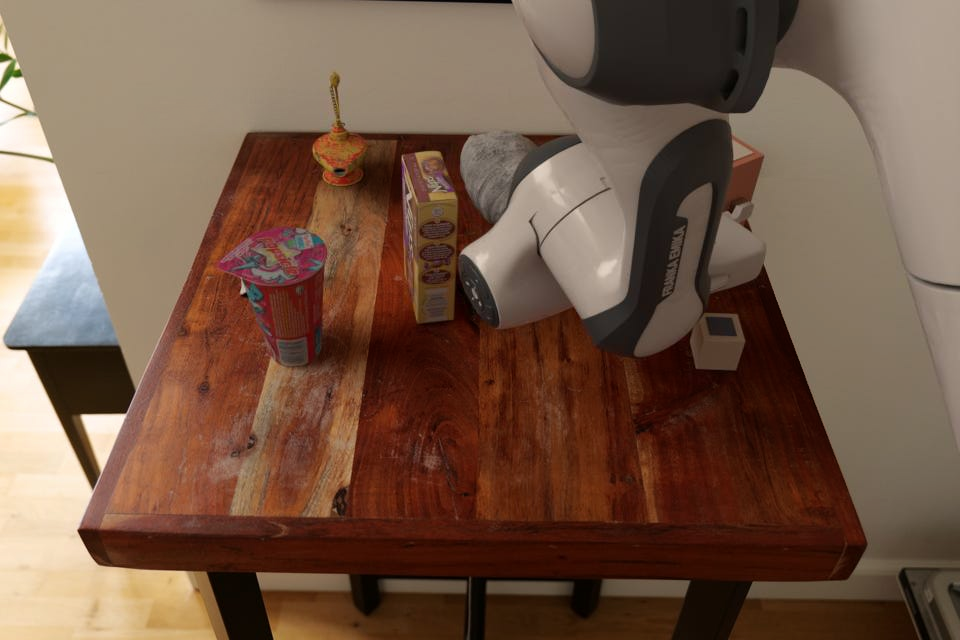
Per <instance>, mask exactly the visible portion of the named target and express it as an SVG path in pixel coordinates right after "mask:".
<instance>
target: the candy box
mask: <svg viewBox="0 0 960 640" xmlns="http://www.w3.org/2000/svg"><path fill="white" fill-rule="evenodd" d="M451 178H452V177H450V175H449V171H448V168H447V166H446V163H445V161H444V157H443V155H442V152H441V151H437V150H426V151H419V152H412V153H406V154H402V155H401V181H402V185H401V186H402V187H401V188H402V189H401V190H402V226H403V227H402V228H403V232H402V233H403V266H404V267H403V268H404V276H405V281H406V285H407V288H408V292H409V296H410V300H411V303H412V307H413V312H414V316H415V320H416V323H417V324H418V325H420V324H429V323H430V324H431V323H439V322H446V321H447V322H448V321H454V319H455V304H456V303H455V302H456V301H455V300H456V299H455V298H456V277H457V276H456V274H457V273H456V272H457V271H456V270H457V240H458V218H459V217H458V216H459V198H458V194H457V192H456V189H455V186H454V183H453V181H452V179H451Z"/></svg>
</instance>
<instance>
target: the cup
mask: <svg viewBox="0 0 960 640" xmlns="http://www.w3.org/2000/svg"><path fill="white" fill-rule="evenodd" d="M327 260H328V248H327V245H326V243H325V241H324V240H323V239H322V238H321V236H319V235H317V234H316V233H315V232H313V231H311V230H307V229H304V228H300V227H292V226H291V227H290V226H279V227H271V228H267V229H262V230H260V231H257V232H255V233H252V234H251V235H249V236H247V237H246V238H244V239H243V240H242V241H240V242H239V243H238V244H237V245H235V246H234V247H232V249H231V250H229V251H228V252H227V253H226V254H224V255H223V256H222V257H221V258H220V259H219V260H218V261H217V262H216V265H215V267H216V269H217V270H219V271H222V272H224V273H227V274H229V275H232V276H235V277H238V278H240V280H241V279H242V281H241V283H242V282H243V284H244V287H245V289H246V294H247V295H246V296H247V297H248V300H249V302H250V305H251V308H252V311H253V313H254V315H255V319H256V321H257V323H258V325H259V327H260V332H261V334H262V336H263V339H264V341H265V344H266V347H267V350H268V352H269V354H270V357H271V358H272V360H273V361H274V362H275V363H276V364H278V365H281V366H285V367H290V368H291V367H301V366H305V365H307V364H310V363H311V362H313V361H314V360H316V358H318V356H319V355H320V353H321V351H322V343H323V341H322V340H323V311H324V288H325V287H324V285H325V266H326V265H325V264H326V262H327Z"/></svg>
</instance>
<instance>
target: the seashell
mask: <svg viewBox="0 0 960 640" xmlns="http://www.w3.org/2000/svg"><path fill="white" fill-rule="evenodd" d="M538 147H539V146H538V145H536V144H535V143H534V142H533V141H532V140H531V139H529V138H527V137H525V136H524V135H522V134H521V133H517V132H515V131H512V130H509V129H494V130H492V131H488V132H485V133H479V134H477V135H476V134H474V133H473V134H471V135H469V137H468V138H467V140H466V141H465V143H464V144H463V147H462V149H461V152H460V157H459V158H460V164H459V172H460V176H461V178H462V180H463V183H464V187H465V190H466V192H467V194H468V195H469V198H470V201H471V203H472V205H473V206H474V208H476V210H478V211H479V213H480V215H481V216H482V217H483V219H484V220H486V222H487V223H489V224H491V225H492V226H494V225H495V224H496V223H497V222H498V220H499V219H500V218H501V217H502V215H503V214H504V212H505V209H506V204H507V200H508V195H509V191H510V187H511V183H512V179H513V176H514V173H515V170H516V168H517V167H518V165H519V163H520V162H521V160H522V159H523V158H524V157H525V156H526V155H527V154H529V153H530V152H531V151H533V150H534V149H536V148H538Z"/></svg>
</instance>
